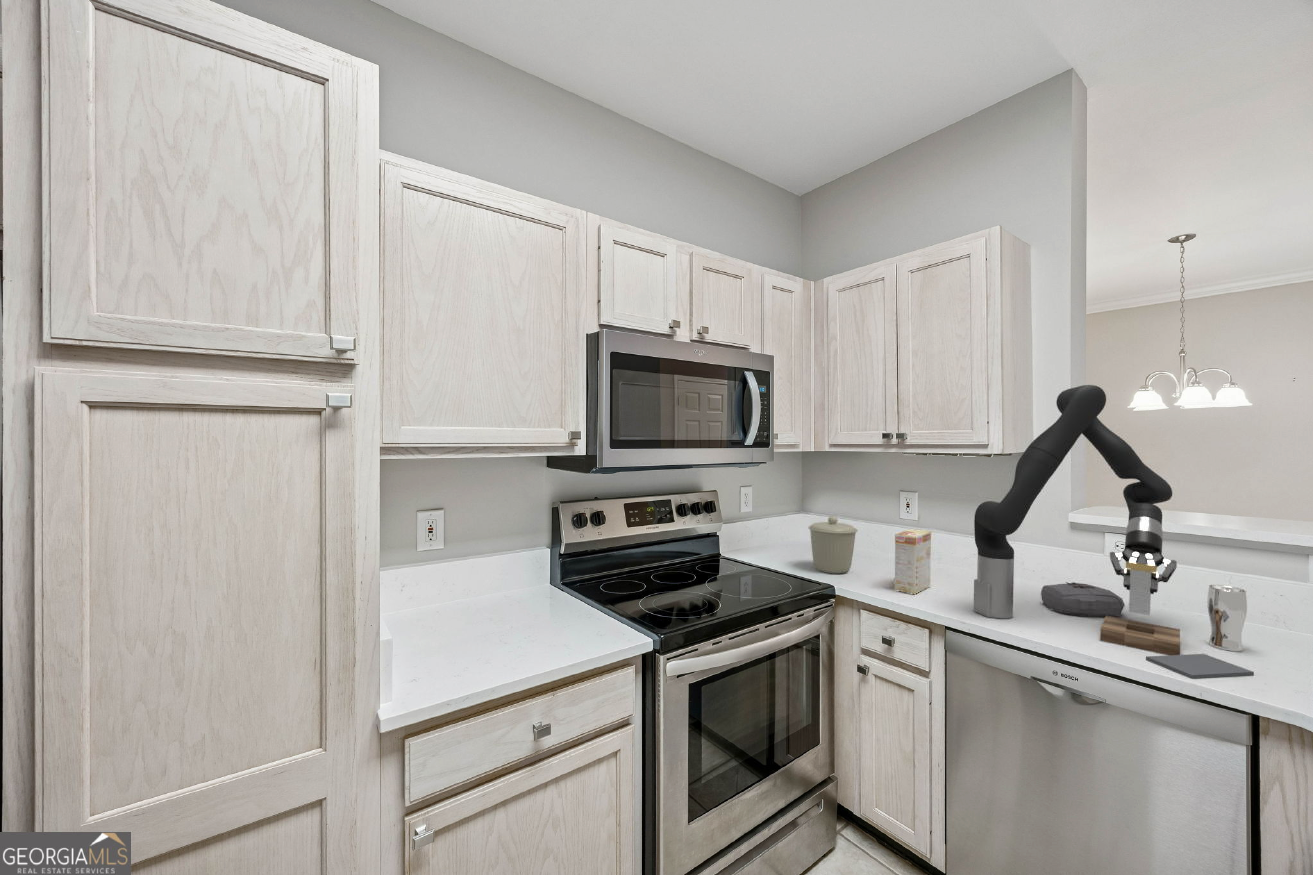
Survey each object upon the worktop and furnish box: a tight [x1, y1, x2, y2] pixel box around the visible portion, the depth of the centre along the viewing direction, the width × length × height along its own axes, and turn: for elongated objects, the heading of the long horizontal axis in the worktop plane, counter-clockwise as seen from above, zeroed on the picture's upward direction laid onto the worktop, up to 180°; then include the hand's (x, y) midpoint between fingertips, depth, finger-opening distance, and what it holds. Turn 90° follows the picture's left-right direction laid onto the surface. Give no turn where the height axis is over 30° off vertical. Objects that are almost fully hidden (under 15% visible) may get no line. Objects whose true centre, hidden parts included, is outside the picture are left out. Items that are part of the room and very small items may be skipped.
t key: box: [1125, 561, 1158, 616], centre depth 143 cm, size 6×4×13 cm, turn 46°
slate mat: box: [1145, 653, 1255, 680], centre depth 126 cm, size 16×10×1 cm, turn 97°
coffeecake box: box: [894, 528, 932, 595], centre depth 188 cm, size 15×7×20 cm, turn 134°
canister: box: [808, 515, 859, 574], centre depth 212 cm, size 18×18×21 cm
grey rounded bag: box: [1040, 581, 1126, 618], centre depth 167 cm, size 15×8×20 cm
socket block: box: [1099, 616, 1181, 656], centre depth 143 cm, size 15×15×3 cm
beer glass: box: [1206, 584, 1248, 653], centre depth 139 cm, size 7×7×15 cm
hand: (1140, 590), depth 141 cm, fingers closed on t key, 4 cm apart
